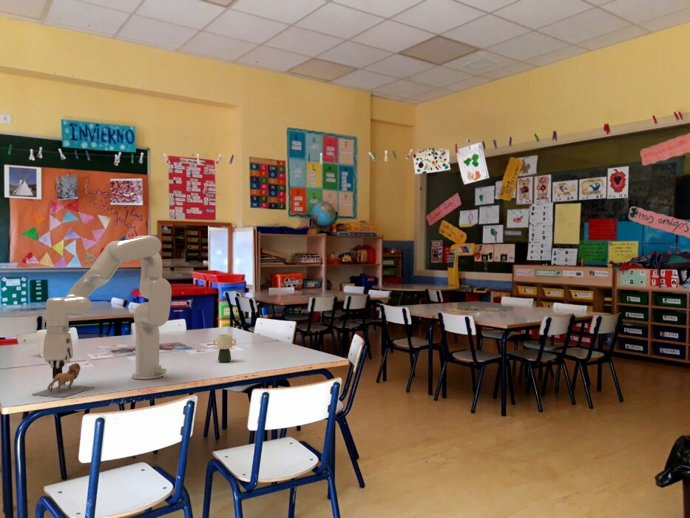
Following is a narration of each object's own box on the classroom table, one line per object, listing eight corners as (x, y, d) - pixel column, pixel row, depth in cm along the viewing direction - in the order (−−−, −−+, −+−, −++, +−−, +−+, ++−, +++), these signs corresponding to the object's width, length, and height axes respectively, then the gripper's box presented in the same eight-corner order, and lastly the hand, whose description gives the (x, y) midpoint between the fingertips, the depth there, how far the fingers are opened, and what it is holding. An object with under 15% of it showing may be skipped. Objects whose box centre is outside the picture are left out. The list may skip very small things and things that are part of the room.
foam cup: (48, 358, 279) (48, 332, 279) (32, 357, 281) (32, 331, 281) (61, 354, 289) (61, 329, 288) (46, 354, 290) (46, 328, 290)
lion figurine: (64, 379, 221) (73, 359, 220) (76, 385, 221) (85, 365, 220) (43, 390, 206) (52, 368, 206) (56, 396, 206) (65, 375, 206)
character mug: (236, 360, 277) (237, 334, 277) (234, 363, 270) (234, 336, 270) (214, 360, 277) (214, 334, 276) (211, 363, 269) (212, 336, 269)
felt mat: (94, 387, 220) (94, 386, 220) (63, 397, 204) (63, 396, 204) (64, 385, 223) (64, 384, 223) (32, 395, 208) (32, 394, 208)
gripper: (81, 329, 216) (80, 377, 216) (49, 327, 220) (49, 374, 220) (66, 332, 209) (66, 381, 209) (33, 330, 213) (33, 378, 213)
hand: (57, 377), depth 215 cm, fingers closed
